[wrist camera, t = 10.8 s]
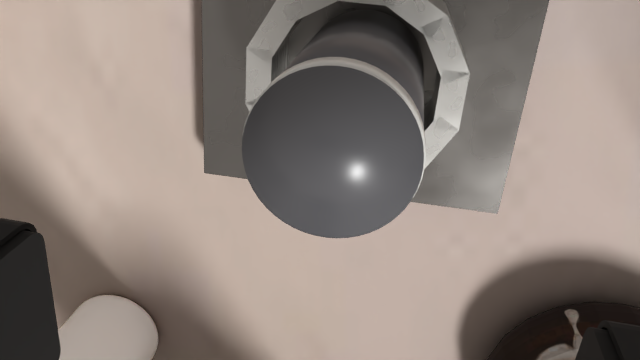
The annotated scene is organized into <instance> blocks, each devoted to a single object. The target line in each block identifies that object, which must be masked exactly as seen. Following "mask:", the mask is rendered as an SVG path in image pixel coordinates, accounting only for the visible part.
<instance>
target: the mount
mask: <svg viewBox="0 0 640 360" xmlns="http://www.w3.org/2000/svg"><path fill="white" fill-rule="evenodd" d="M548 3H549V0H202V57H203V123H204V173H208V174H215V175H222V176H230V177H237V178H244V179H248V178H247V175H246V172H245V168H244V164H243V158H242V137H243V131H244V126H245V122H246V119H247V117H248V114H249V112H250V110H251V108H252V106H253V104H254V103H255V101H256V100H257V98H258V97H259V96H260V94H261V93H262V92H263V91H264V90H265V89H266V88H267V86H268V85H269V84H270V83H271V82H272V81H273V80H274V79H275V78H276V77H278V76H279V75H280V74H281V73H282V72H283V71H284V70H285V69H286V68H287V67H288V65H289V64H290V63H291V62H292V61H293V60H294V59H295V58H296V56H297V55H298V54H299V53H300V52H301V51H302V50H303V49H304V47H305V46H306V45H307V44H308V43H309V42H310V41H311V40H312V38H313V37H314V36H315V35H316V34H317V33H318V32H319V31H320V29H321V28H322V27H323V26H324V25H325V24H327V23H328V22H329V21H330V20H332V19H333V18H335V17H337V16H339V15H341V14H344V13H346V12H350V11H354V10H374V11H379V12H383V13H386V14H388V15H390V16H392V17H394V18H396V19H397V20H399V21H400V22H401V23H403V24H404V25H405V26H406V27H407V28H408V29H409V30H410V31H411V33H412V34H413V36H414V37H415V39H416V41H417V43H418V45H419V47H420V50H421V53H422V58H423V67H424V131H425V141H426V159H425V168H424V173H423V177H422V180H421V183H420V185H419V188H418V190H417V192H416V193H415V195H414V197H413V198H412V200H411V201H410V202H417V203H424V204H431V205H438V206H445V207H453V208H460V209H467V210H474V211H481V212H489V213H496V214H498V210H499V206H500V202H501V198H502V193H503V189H504V185H505V181H506V177H507V173H508V169H509V165H510V160H511V156H512V152H513V148H514V144H515V140H516V136H517V131H518V127H519V123H520V119H521V115H522V111H523V107H524V102H525V98H526V94H527V90H528V86H529V82H530V78H531V73H532V69H533V65H534V61H535V57H536V53H537V49H538V44H539V40H540V36H541V32H542V28H543V24H544V20H545V16H546V11H547V7H548Z"/></svg>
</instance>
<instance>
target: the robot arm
mask: <svg viewBox="0 0 640 360" xmlns="http://www.w3.org/2000/svg"><path fill="white" fill-rule="evenodd" d="M60 352H61V347H60V340H59V334H58V327H57V321H56V314H55V308H54V301H53V295H52V288H51V282H50V275H49V269H48V262H47V256H46V249H45V243H44V239H43V236H42V235H41V234H40V233H37V230H36V228H35V227H34V225H32V224H30V223H26V222H20V221H14V220H8V219H2V218H1V219H0V360H59V358H60ZM575 360H640V326H637V325H631V324H626V323H620V322H614V321H608V320H603V321H601V322H600V324H599V325H598V327H597V328H594V327H588V328H587V329H586V331H585V333H584V336H583V338H582V341H581V344H580V347H579V350H578V353H577V356H576V358H575Z"/></svg>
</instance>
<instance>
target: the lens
mask: <svg viewBox="0 0 640 360" xmlns="http://www.w3.org/2000/svg"><path fill="white" fill-rule="evenodd" d="M242 158H243V164H244V168H245V172H246V175H247V178H248V180H249V182H250V184H251V186H252V188H253V190H254V192H255V193H256V195H257V196H258V198H259V199H260V201H261V202H262V203H263V204H264V205H265V206H266V208H267V209H268V210H269V211H271V212H272V213H273V214H274V215H275V216H276V217H278V218H279V219H280V220H282V221H283V222H285V223H286V224H288V225H290V226H292V227H293V228H296V229H298V230H300V231H303V232H305V233H308V234H312V235H315V236H321V237H327V238H349V237H355V236H360V235H363V234H367V233H370V232H372V231H375V230H377V229H379V228H381V227H383V226H384V225H386V224H388V223H389V222H391V221H392V220H393V219H395V218H396V217H397V216H398V215H399V214H400V213H401V212H402V211H403V210H404V209H405V208H406V207H407V205H408V204H409V203H410V201H411V200H412V198H413V197H414V195H415V193H416V192H417V190H418V188H419V185H420V183H421V180H422V177H423V173H424V168H425V159H426V141H425V131H424V67H423V58H422V53H421V50H420V47H419V45H418V43H417V41H416V39H415V37H414V36H413V34H412V33H411V31H410V30H409V29H408V28H407V27H406V26H405V25H404V24H403V23H401V22H400V21H399V20H397V19H396V18H394V17H392V16H390V15H388V14H386V13H383V12H379V11H374V10H354V11H350V12H346V13H344V14H341V15H339V16H337V17H335V18H333V19H332V20H330V21H329V22H328V23H327V24H325V25H324V26H323V27H322V28H321V29H320V31H319V32H318V33H317V34H316V35H315V36H314V37H313V38H312V40H311V41H310V42H309V43H308V44H307V45H306V46H305V47H304V49H303V50H302V51H301V52H300V53H299V54H298V55H297V56H296V58H295V59H294V60H293V61H292V62H291V63H290V64H289V65H288V67H287V68H286V69H285V70H284V71H283V72H282V73H281V74H280V75H279V76H278V77H276V78H275V79H274V80H273V81H272V82H271V83H270V84H269V85H268V86H267V88H266V89H265V90H264V91H263V92H262V93H261V94H260V96H259V97H258V98H257V100H256V101H255V103H254V104H253V106H252V108H251V110H250V112H249V114H248V117H247V119H246V122H245V126H244V131H243V137H242Z"/></svg>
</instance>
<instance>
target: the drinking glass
mask: <svg viewBox="0 0 640 360" xmlns="http://www.w3.org/2000/svg"><path fill="white" fill-rule="evenodd" d="M58 334H59V340H60V347H61V352H60V358H59V360H152V358H153V356H154V354H155V352H156V350H157V346H158V332H157V328H156V325H155V323H154V321H153V320H152V318H151V317H150V315H149V314H148V313H147V312H146V311H145V310H144V309H143V308H142V307H140V306H139V305H138V304H136V303H135V302H133V301H131V300H129V299H126V298H124V297H120V296H115V295H100V296H95V297H92V298H90V299H88V300H86V301H85V302H83V303H82V304H81V305H80V306H79V307H78V308H77V309H76V310H75V311H74V313H73V314H72V315H71V316H70V317H69V319H68V320H67V321H66V322H65V323H64V324H63V325H62V326H61V327H60V328H59V329H58Z"/></svg>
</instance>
